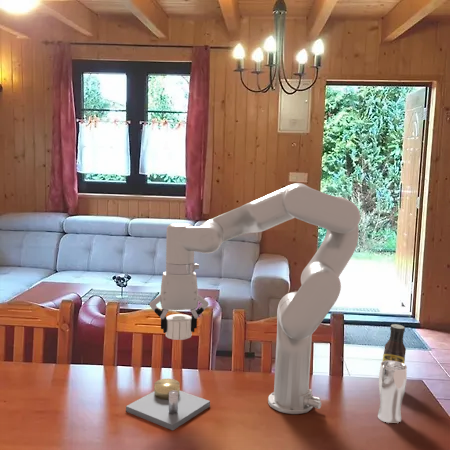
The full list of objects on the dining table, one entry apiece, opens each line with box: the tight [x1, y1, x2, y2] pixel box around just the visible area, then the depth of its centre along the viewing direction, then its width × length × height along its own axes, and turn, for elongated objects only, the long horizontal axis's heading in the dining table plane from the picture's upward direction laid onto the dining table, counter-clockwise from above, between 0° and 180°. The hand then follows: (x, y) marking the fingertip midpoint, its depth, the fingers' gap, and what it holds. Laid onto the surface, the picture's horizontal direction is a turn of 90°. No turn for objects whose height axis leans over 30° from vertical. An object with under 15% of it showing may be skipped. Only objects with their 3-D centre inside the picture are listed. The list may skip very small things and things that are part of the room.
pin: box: [169, 390, 178, 415], centre depth 139 cm, size 2×2×6 cm
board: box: [125, 390, 211, 431], centre depth 144 cm, size 16×16×2 cm
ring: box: [165, 313, 193, 341], centre depth 147 cm, size 7×7×5 cm
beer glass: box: [377, 360, 408, 424], centre depth 142 cm, size 7×7×15 cm
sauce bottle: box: [382, 323, 407, 364], centre depth 159 cm, size 6×6×20 cm
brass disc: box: [153, 378, 181, 400], centre depth 149 cm, size 7×7×3 cm
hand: (178, 330), depth 148 cm, fingers closed on ring, 7 cm apart
